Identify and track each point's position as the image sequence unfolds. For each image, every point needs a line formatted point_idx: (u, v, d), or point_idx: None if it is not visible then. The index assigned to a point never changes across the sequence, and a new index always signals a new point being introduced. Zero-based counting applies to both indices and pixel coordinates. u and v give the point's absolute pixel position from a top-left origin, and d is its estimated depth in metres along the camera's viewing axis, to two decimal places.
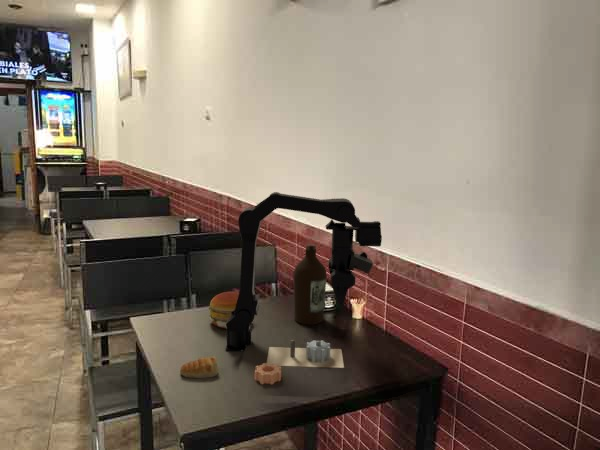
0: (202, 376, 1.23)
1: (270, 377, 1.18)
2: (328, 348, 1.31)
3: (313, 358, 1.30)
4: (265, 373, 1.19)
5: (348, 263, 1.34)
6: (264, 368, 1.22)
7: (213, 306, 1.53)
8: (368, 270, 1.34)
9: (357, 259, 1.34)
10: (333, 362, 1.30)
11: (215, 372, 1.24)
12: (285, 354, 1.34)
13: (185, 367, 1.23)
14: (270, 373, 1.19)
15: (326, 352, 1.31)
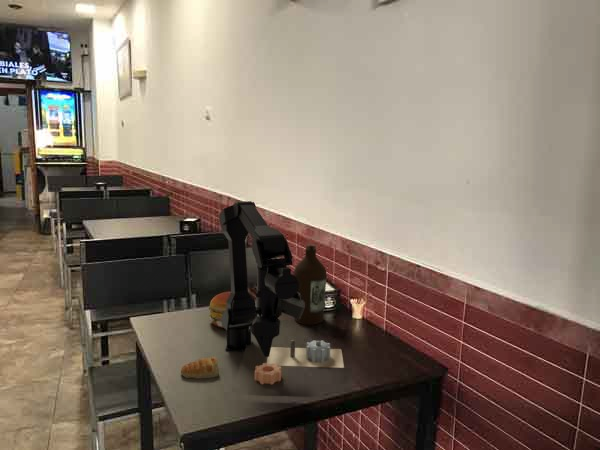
0: (203, 377, 1.23)
1: (270, 377, 1.18)
2: (328, 348, 1.31)
3: (313, 358, 1.30)
4: (265, 373, 1.19)
5: (275, 307, 1.16)
6: (264, 368, 1.22)
7: (213, 306, 1.53)
8: (298, 315, 1.16)
9: (285, 302, 1.15)
10: (333, 362, 1.30)
11: (216, 373, 1.23)
12: (285, 354, 1.34)
13: (186, 368, 1.23)
14: (270, 373, 1.19)
15: (326, 352, 1.31)
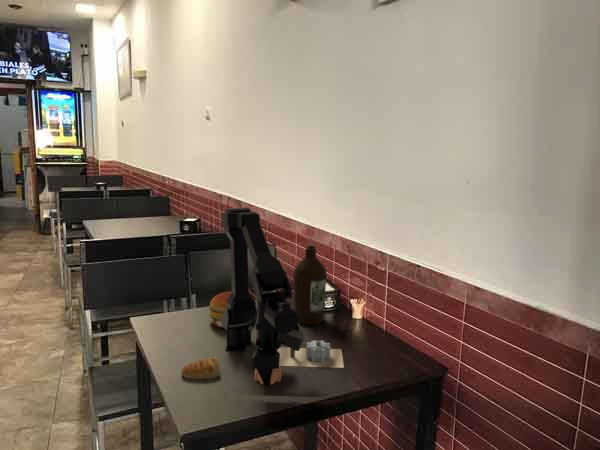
0: (204, 377, 1.22)
1: None
2: (328, 348, 1.31)
3: (313, 358, 1.30)
4: None
5: (275, 339, 1.17)
6: None
7: (213, 306, 1.53)
8: (297, 347, 1.17)
9: (285, 334, 1.17)
10: (333, 362, 1.30)
11: (217, 373, 1.23)
12: (285, 354, 1.34)
13: (186, 368, 1.23)
14: None
15: (326, 352, 1.31)
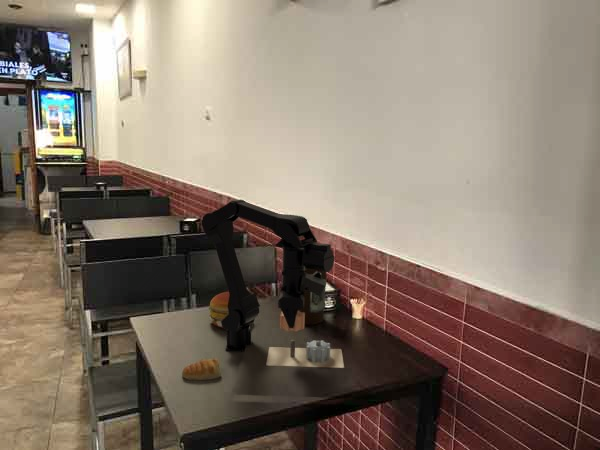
0: (205, 378, 1.22)
1: (295, 320, 1.27)
2: (328, 348, 1.31)
3: (313, 358, 1.30)
4: None
5: (299, 284, 1.26)
6: None
7: (213, 306, 1.53)
8: (320, 292, 1.26)
9: (308, 280, 1.26)
10: (333, 362, 1.30)
11: (218, 374, 1.23)
12: (285, 354, 1.34)
13: (187, 370, 1.22)
14: None
15: (326, 352, 1.31)
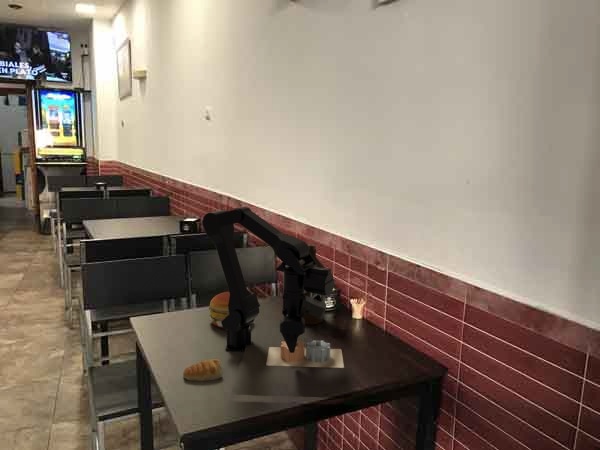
0: (206, 379, 1.22)
1: (295, 351, 1.30)
2: (328, 348, 1.31)
3: (313, 358, 1.30)
4: None
5: (300, 308, 1.28)
6: None
7: (213, 306, 1.53)
8: (320, 315, 1.28)
9: (309, 304, 1.28)
10: (333, 362, 1.30)
11: (219, 374, 1.23)
12: None
13: (189, 371, 1.22)
14: (295, 347, 1.30)
15: (326, 352, 1.31)
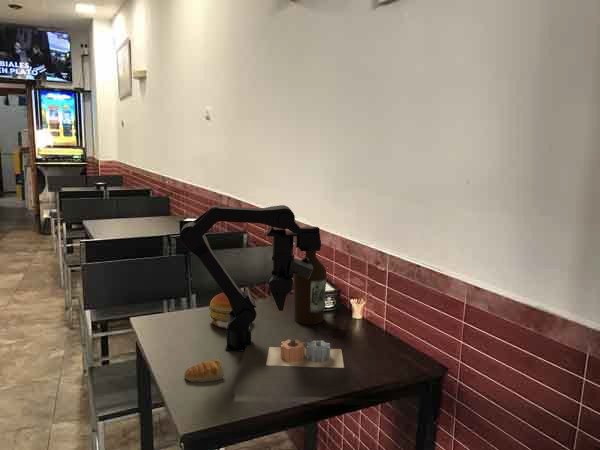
0: (208, 380, 1.21)
1: (295, 351, 1.30)
2: (328, 348, 1.31)
3: (313, 358, 1.30)
4: (290, 347, 1.30)
5: (288, 269, 1.37)
6: (289, 344, 1.34)
7: (213, 306, 1.53)
8: (307, 276, 1.37)
9: (297, 265, 1.36)
10: (333, 362, 1.30)
11: (221, 375, 1.22)
12: None
13: (190, 372, 1.21)
14: (295, 347, 1.30)
15: (326, 352, 1.31)
